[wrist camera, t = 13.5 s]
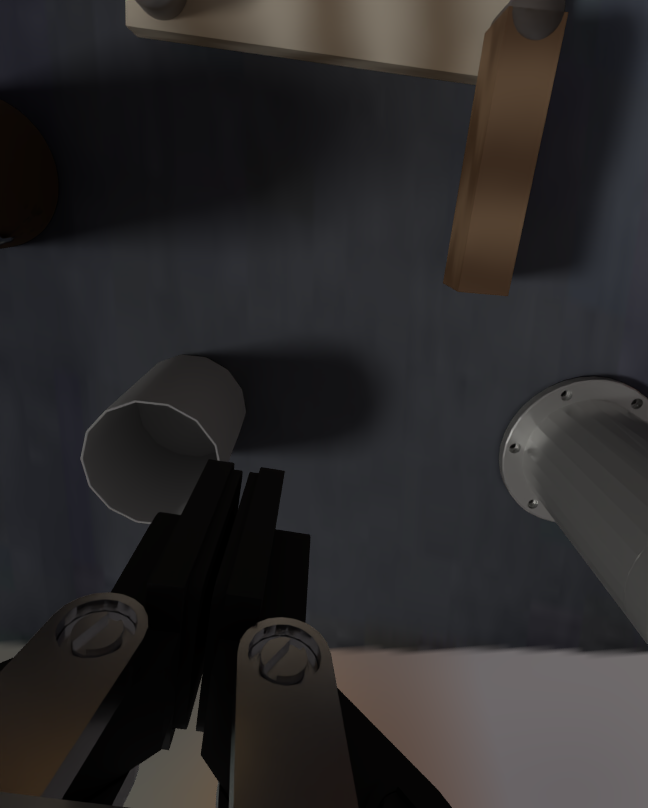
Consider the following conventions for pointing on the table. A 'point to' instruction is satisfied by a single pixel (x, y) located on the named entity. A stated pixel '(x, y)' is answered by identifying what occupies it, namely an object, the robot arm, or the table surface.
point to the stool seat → (332, 31)
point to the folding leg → (503, 144)
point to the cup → (163, 437)
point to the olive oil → (24, 179)
